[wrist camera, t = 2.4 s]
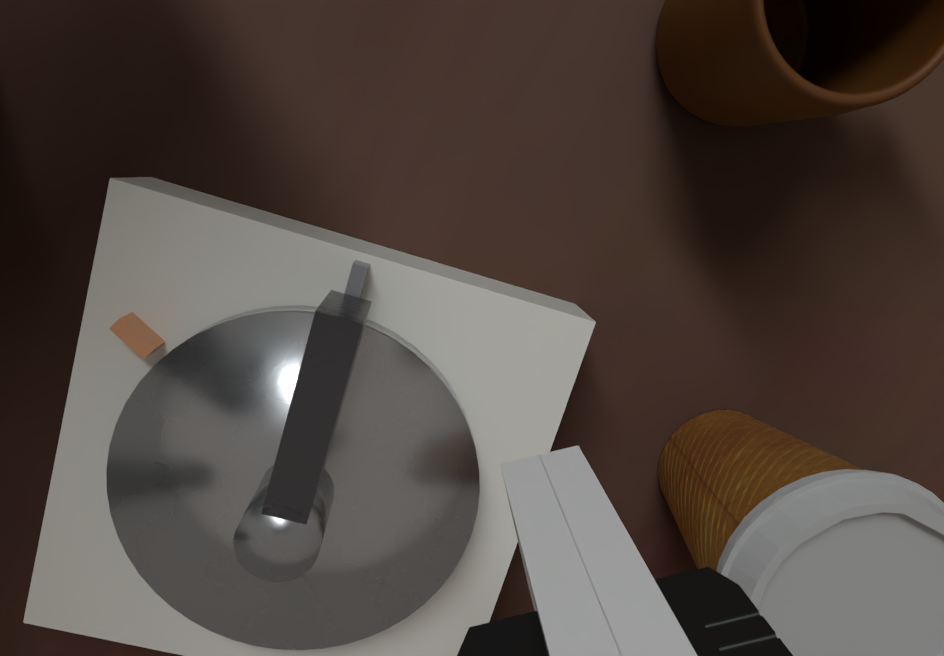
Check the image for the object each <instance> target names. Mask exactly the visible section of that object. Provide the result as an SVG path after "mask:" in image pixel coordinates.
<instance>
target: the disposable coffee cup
mask: <svg viewBox="0 0 944 656" xmlns="http://www.w3.org/2000/svg"><path fill="white" fill-rule="evenodd" d="M658 479H659V485H660V489H661V491H662V493H663V496H664V498H665V500H666V502H667V504H668V506H669V508H670V510H671V512H672V515H673V517H674V519H675V521H676V523H677V525H678V528H679V530H680V532H681V534H682V537H683V539H684V541H685V543H686V545H687V547H688V550H689V552H690V554H691V556H692V558H693V561H694V563H695V565H696V567H697V569H700V568H705V567H710V568H712V569H713V570H715V571H717V572H718V573H720V574H722V575H723V576H725V577H727V578H728V579H730V580H732V581H733V582H735V583H737V584H739V586H740V587H741V588H742V589H743V591H744V592H745V593H746V595H747V596H748V597H749V599H750V600H751V601H752V603H753V604H754V605H755V606H756V608H757V609H758V610H759V614H760V616H763V617H764V618H765V620H766V621H767V622H768V623H769V625H770V626H771V627H772V629H773V630H774V631H775V633H776V636H777V638H780V639H781V640H782V642H783V643H784V644H785V646H786V647H787V648H788V650H789V651H790V652H791V653H792V655H793V656H944V503H943V502H942V501H941V500H940V499H939V498H938V497H936V496H935V495H934V494H933V493H932V492H930V491H928V490H927V489H925V488H924V487H922V486H920V485H919V484H917V483H915V482H912V481H910V480H907V479H905V478H902V477H900V476H898V475H895V474H890V473H883V472H875V471H868V470H863V469H861V468H860V467H858V466H855V465H852V464H851V463H849V462H847V461H844V460H841V459H840V458H838V457H836V456H833V455H831V454H830V453H828V452H825V451H822V450H821V449H819V448H817V447H814V446H812V445H811V444H808V443H806V442H804V441H802V440H800V439H797V438H795V437H794V436H792V435H789V434H787V433H785V432H782V431H780V430H778V429H776V428H774V427H771V426H770V425H768V424H765V423H764V422H761V421H759V420H757V419H755V418H753V417H751V416H749V415H747V414H744V413H741V412H738V411H731V410H717V411H711V412H707V413H703V414H701V415H699V416H697V417H695V418H693V419H691V420H689V421H688V422H686V423H685V424H683V425H682V426H681V427H680V428H679V429H678V430H677V431H676V432H675V433H674V434H673V435H672V436H671V438H670V439H669V441H668V442H667V444H666V445H665V447H664V449H663V452H662V454H661V457H660V461H659V466H658Z"/></svg>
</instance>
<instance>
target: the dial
mask: <svg viewBox="0 0 944 656" xmlns="http://www.w3.org/2000/svg"><path fill="white" fill-rule="evenodd" d="M371 303H372V301H369V300H365V299H362V298H358V297H355V296H351V295H348V294H344V293H341V292H337V291H334V290H331V291H330V292H329V293H328V295H327V296H326V297H325V299H324V300H323V301H322V303H321V304H320V305H319V307H315V306H304V305H292V306H273V307H267V308H261V309H255V310H250V311H247V312H244V313H240V314H237V315H234V316H230V317H227V318H225V319H223V320H221V321H219V322H216V323H214V324H212V325H210V326H208V327H206V328H204V329H202V330H201V331H199V332H198V333H196V334H195V335H193V336H191V337H190V338H188V339H187V340H185V341H184V342H182V343H181V344H180V345H178V346H177V347H175V348H174V349H173V350H172V351H170V352H169V353H168V354H167V355H166V356H164V357H163V358H162V359H161V360H160V361H159V362H157V363H156V364H155V365H154V366H153V367H152V368H151V369H150V371H149V372H148V373H147V374H146V375H145V376H144V377H143V378H142V380H141V381H140V382H139V383H138V385H137V386H136V388H135V389H134V391H133V392H132V394H131V395H130V397H129V398H128V400H127V401H126V403H125V405H124V407H123V409H122V412H121V414H120V416H119V418H118V420H117V422H116V425H115V428H114V432H113V435H112V439H111V442H110V446H109V453H108V460H107V467H106V477H107V496H108V502H109V508H110V514H111V517H112V520H113V523H114V527H115V530H116V533H117V536H118V538H119V540H120V542H121V544H122V546H123V548H124V550H125V552H126V555H127V556H128V558H129V559H130V561H131V562H132V564H133V565H134V567H135V568H136V570H137V572H138V573H139V575H140V576H141V577H142V578H143V579H144V580H145V581H146V583H147V584H148V585H149V586H150V587H151V588H152V590H153V591H154V592H155V593H156V594H157V595H159V596H160V597H161V598H162V599H163V600H164V601H165V602H166V603H167V604H168V605H170V606H171V607H172V608H173V609H175V610H176V611H178V612H179V613H181V614H182V615H183V616H185V617H186V618H188V619H189V620H191V621H192V622H194V623H196V624H198V625H200V626H202V627H204V628H205V629H207V630H209V631H211V632H214V633H216V634H219V635H221V636H224V637H226V638H229V639H231V640H235V641H238V642H242V643H246V644H250V645H253V646H259V647H265V648H272V649H281V650H311V649H324V648H329V647H335V646H340V645H346V644H349V643H352V642H355V641H359V640H362V639H365V638H368V637H370V636H373V635H375V634H377V633H379V632H382V631H384V630H386V629H388V628H390V627H392V626H393V625H395V624H397V623H399V622H400V621H402V620H404V619H405V618H407V617H408V616H410V615H411V614H412V613H414V612H415V611H416V610H417V609H419V608H420V607H421V606H423V605H424V604H425V603H426V602H427V601H428V600H429V599H430V598H431V597H432V596H433V595H434V594H435V593H436V592H437V591H438V590H439V589H440V588H441V587H442V585H443V584H444V583H445V582H446V580H447V579H448V578H449V576H450V575H451V574H452V573H453V571H454V569H455V568H456V566H457V564H458V562H459V561H460V559H461V557H462V556H463V554H464V552H465V549H466V547H467V544H468V542H469V540H470V537H471V535H472V531H473V528H474V524H475V520H476V516H477V511H478V503H479V494H480V482H479V466H478V460H477V454H476V448H475V443H474V438H473V434H472V431H471V428H470V425H469V421H468V418H467V415H466V413H465V411H464V409H463V407H462V405H461V403H460V401H459V398H458V396H457V395H456V393H455V392H454V390H453V389H452V387H451V386H450V384H449V382H448V381H447V379H446V378H445V377H444V375H443V374H442V373H441V372H440V371H439V370H438V369H437V367H436V366H435V365H434V364H433V363H432V362H431V360H430V359H428V358H427V357H426V356H425V355H424V354H423V353H422V352H420V351H419V350H418V349H417V348H416V347H415V346H414V345H413V344H411V343H410V342H408V341H407V340H405V339H404V338H402V337H401V336H399V335H398V334H396V333H395V332H393V331H391V330H389V329H387V328H385V327H383V326H381V325H379V324H377V323H375V322H373V321H371V320H368V319H367V317H368V313H369V310H370V306H371Z"/></svg>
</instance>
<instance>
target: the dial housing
mask: <svg viewBox="0 0 944 656" xmlns="http://www.w3.org/2000/svg"><path fill="white" fill-rule="evenodd" d="M331 290H334V291H337V292H341V293H344V294H348V295H351V296H355V297H358V298H362V299H365V300H369V301H372V303H371V306H370V310H369V313H368V317H367V319H368V320H371V321H373V322H375V323H377V324H379V325H381V326H383V327H385V328H387V329H389V330H391V331H393V332H395V333H396V334H398V335H399V336H401V337H402V338H404V339H405V340H407V341H408V342H410V343H411V344H413V345H414V346H415V347H416V348H417V349H418V350H419V351H420V352H422V353H423V354H424V355H425V356H426V357H427V358H428V359H430V360H431V362H432V363H433V364H434V365H435V366H436V367H437V369H438V370H439V371H440V372H441V373H442V374H443V375H444V377H445V378H446V379H447V381H448V382H449V384H450V386H451V387H452V389H453V390H454V392H455V393H456V395H457V396H458V398H459V401H460V403H461V405H462V407H463V409H464V411H465V413H466V415H467V418H468V421H469V425H470V428H471V431H472V434H473V438H474V443H475V448H476V454H477V460H478V466H479V482H480V494H479V503H478V511H477V516H476V520H475V524H474V528H473V531H472V535H471V537H470V540H469V542H468V544H467V547H466V549H465V552H464V554H463V556H462V557H461V559H460V561H459V562H458V564H457V566H456V568H455V569H454V571H453V573H452V574H451V575H450V576H449V578H448V579H447V580H446V582H445V583H444V584H443V585H442V587H441V588H440V589H439V590H438V591H437V592H436V593H435V594H434V595H433V596H432V597H431V598H430V599H429V600H428V601H427V602H426V603H425V604H424V605H423V606H421V607H420V608H419V609H417V610H416V611H415V612H414V613H412V614H411V615H410V616H408V617H407V618H405V619H404V620H402V621H400V622H399V623H397V624H395V625H393V626H392V627H390V628H388V629H386V630H384V631H382V632H379V633H377V634H375V635H373V636H370V637H368V638H365V639H362V640H359V641H355V642H352V643H349V644H346V645H340V646H335V647H329V648H324V649H311V650H281V649H272V648H265V647H259V646H253V645H250V644H246V643H242V642H238V641H235V640H231V639H229V638H226V637H224V636H221V635H219V634H216V633H214V632H211V631H209V630H207V629H205V628H204V627H202V626H200V625H198V624H196V623H194V622H192V621H191V620H189V619H188V618H186V617H185V616H183V615H182V614H181V613H179V612H178V611H176V610H175V609H173V608H172V607H171V606H170V605H168V604H167V603H166V602H165V601H164V600H163V599H162V598H161V597H160V596H159V595H157V594H156V593H155V592H154V591H153V590H152V588H151V587H150V586H149V585H148V584H147V583H146V581H145V580H144V579H143V578H142V577H141V576H140V575H139V573H138V572H137V570H136V568H135V567H134V565H133V564H132V562H131V561H130V559H129V558H128V556H127V555H126V552H125V550H124V548H123V546H122V544H121V542H120V540H119V538H118V536H117V533H116V530H115V527H114V523H113V520H112V517H111V514H110V508H109V502H108V496H107V477H106V467H107V460H108V453H109V446H110V442H111V439H112V435H113V432H114V428H115V425H116V422H117V420H118V418H119V416H120V414H121V412H122V409H123V407H124V405H125V403H126V401H127V400H128V398H129V397H130V395H131V394H132V392H133V391H134V389H135V388H136V386H137V385H138V383H139V382H140V381H141V380H142V378H143V377H144V376H145V375H146V374H147V373H148V372H149V371H150V369H151V368H152V367H153V366H154V365H155V364H156V363H157V362H159V361H160V360H161V359H162V358H163V357H164V356H166V355H167V354H168V353H169V352H170V351H172V350H173V349H174V348H175V347H177V346H178V345H180V344H181V343H182V342H184V341H185V340H187V339H188V338H190V337H191V336H193V335H195V334H196V333H198V332H199V331H201V330H202V329H204V328H206V327H208V326H210V325H212V324H214V323H216V322H219V321H221V320H223V319H225V318H227V317H230V316H234V315H237V314H240V313H244V312H247V311H250V310H255V309H261V308H267V307H273V306H292V305H304V306H315V307H319V305H320V304H321V303H322V301H323V300H324V299H325V297H326V296H327V295H328V293H329V292H330V291H331ZM595 323H596V322H595V321H594V320H593V319H592V318H591V317H590V316H588V315H587V314H586V313H585V312H584V311H583V310H582V309H580V308H579V307H578V306H577V305H576V304H574V303H571V302H567V301H564V300H561V299H557V298H554V297H551V296H547V295H544V294H541V293H537V292H534V291H531V290H527V289H524V288H521V287H517V286H514V285H510V284H507V283H504V282H500V281H497V280H494V279H490V278H487V277H484V276H480V275H477V274H474V273H470V272H467V271H464V270H460V269H457V268H454V267H450V266H447V265H444V264H440V263H437V262H434V261H430V260H427V259H424V258H420V257H417V256H414V255H410V254H407V253H404V252H400V251H397V250H394V249H390V248H387V247H383V246H380V245H377V244H373V243H370V242H367V241H363V240H360V239H357V238H353V237H350V236H347V235H343V234H340V233H337V232H333V231H330V230H327V229H323V228H320V227H317V226H313V225H310V224H307V223H303V222H300V221H297V220H293V219H290V218H287V217H283V216H280V215H277V214H273V213H270V212H267V211H263V210H260V209H257V208H253V207H250V206H246V205H243V204H240V203H236V202H233V201H230V200H226V199H223V198H220V197H216V196H213V195H210V194H206V193H203V192H200V191H196V190H193V189H190V188H186V187H183V186H180V185H176V184H173V183H170V182H166V181H163V180H160V179H156V178H153V177H126V178H110V180H109V185H108V190H107V196H106V201H105V206H104V211H103V216H102V221H101V226H100V231H99V237H98V242H97V247H96V252H95V257H94V262H93V267H92V272H91V278H90V283H89V288H88V293H87V298H86V303H85V308H84V313H83V318H82V324H81V329H80V334H79V339H78V344H77V349H76V354H75V359H74V365H73V370H72V375H71V380H70V385H69V390H68V395H67V400H66V405H65V411H64V416H63V421H62V426H61V431H60V436H59V441H58V446H57V452H56V457H55V462H54V467H53V472H52V477H51V482H50V487H49V493H48V498H47V503H46V508H45V513H44V518H43V523H42V528H41V533H40V539H39V544H38V549H37V554H36V559H35V564H34V569H33V574H32V580H31V585H30V590H29V595H28V600H27V605H26V610H25V615H24V620H23V623H27V624H32V625H37V626H42V627H47V628H51V629H56V630H61V631H66V632H71V633H76V634H81V635H86V636H90V637H95V638H100V639H105V640H110V641H115V642H120V643H124V644H129V645H134V646H139V647H144V648H149V649H154V650H159V651H163V652H168V653H173V654H178V655H183V656H457V654H458V652H459V650H460V648H461V645H462V643H463V641H464V638H465V636H466V634H467V631H468V629H469V627H473V626H477V625H481V624H485V623H489V621H490V619H491V616H492V613H493V610H494V607H495V604H496V602H497V599H498V596H499V593H500V590H501V588H502V585H503V582H504V579H505V576H506V574H507V571H508V568H509V565H510V562H511V559H512V557H513V554H514V551H515V548H516V545H517V543H518V539H517V535H516V531H515V526H514V522H513V518H512V513H511V509H510V505H509V501H508V496H507V492H506V488H505V483H504V479H503V475H502V470H501V466H500V464H502V463H506V462H511V461H515V460H519V459H523V458H527V457H532V456H536V455H540V454H544V453H548V452H550V450H551V447H552V444H553V441H554V439H555V436H556V433H557V430H558V427H559V425H560V422H561V419H562V416H563V413H564V410H565V408H566V405H567V402H568V399H569V396H570V394H571V391H572V388H573V385H574V382H575V380H576V377H577V374H578V371H579V368H580V365H581V363H582V360H583V357H584V354H585V351H586V349H587V346H588V343H589V340H590V337H591V335H592V332H593V329H594V326H595Z"/></svg>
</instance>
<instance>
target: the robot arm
mask: <svg viewBox="0 0 944 656" xmlns="http://www.w3.org/2000/svg"><path fill="white" fill-rule="evenodd" d="M500 466H501V470H502V475H503V479H504V483H505V488H506V492H507V496H508V501H509V505H510V509H511V513H512V518H513V522H514V526H515V531H516V535H517V539H518V543H519V548H520V552H521V556H522V561H523V565H524V569H525V574H526V578H527V582H528V586H529V591H530V595H531V599H532V603H533V606H534V610H535V611H534V612H530V613H526V614H522V615H518V616H514V617H510V618H505V619H501V620H497V621H493V622H489V623H485V624H481V625H477V626H473V627H469V629H468V631H467V634H466V636H465V638H464V641H463V643H462V645H461V648H460V650H459V652H458V654H457V656H793V655H792V653H791V652H790V651H789V650H788V648H787V647H786V646H785V644H784V643H783V642H782V640H781V639H780V638H777V636H776V633H775V631H774V630H773V629H772V627H771V626H770V625H769V623H768V622H767V621H766V620H765V618H764V617H763V616H760V614H759V610H758V609H757V608H756V606H755V605H754V604H753V603H752V601H751V600H750V599H749V597H748V596H747V595H746V593H745V592H744V591H743V589H742V588H741V587H740V586H739V584H737V583H735V582H733V581H732V580H730V579H728V578H727V577H725V576H723V575H722V574H720V573H718V572H717V571H715V570H713V569H712V568H710V567H705V568H700V569H696V570H692V571H688V572H684V573H680V574H676V575H672V576H667V577H663V578H659V579H655V580H654V578H653V576H652V575H651V573H650V571H649V569H648V567H647V566H646V564H645V562H644V560H643V559H642V557H641V555H640V553H639V552H638V550H637V548H636V546H635V545H634V543H633V541H632V539H631V537H630V536H629V534H628V532H627V530H626V529H625V527H624V525H623V523H622V522H621V520H620V518H619V516H618V515H617V513H616V511H615V509H614V507H613V506H612V504H611V502H610V500H609V499H608V497H607V495H606V493H605V492H604V490H603V488H602V486H601V485H600V483H599V481H598V479H597V478H596V476H595V474H594V472H593V470H592V469H591V467H590V465H589V463H588V462H587V460H586V458H585V456H584V455H583V453H582V451H581V449H580V448H579V446H573V447H569V448H565V449H561V450H557V451H552V452H548V453H544V454H540V455H536V456H532V457H527V458H523V459H519V460H515V461H511V462H506V463H502V464H500Z"/></svg>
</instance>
